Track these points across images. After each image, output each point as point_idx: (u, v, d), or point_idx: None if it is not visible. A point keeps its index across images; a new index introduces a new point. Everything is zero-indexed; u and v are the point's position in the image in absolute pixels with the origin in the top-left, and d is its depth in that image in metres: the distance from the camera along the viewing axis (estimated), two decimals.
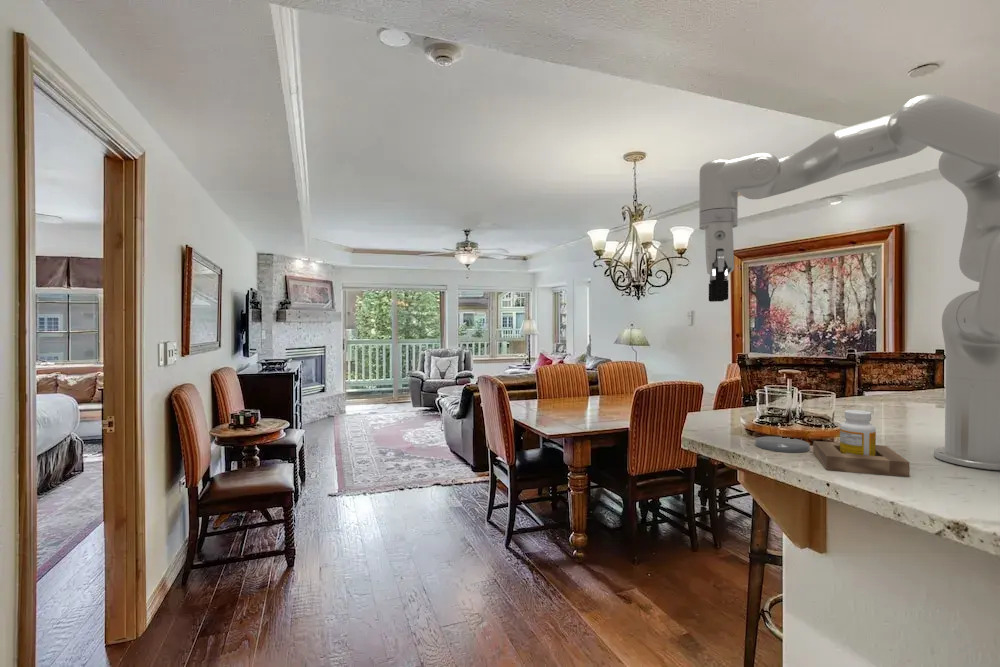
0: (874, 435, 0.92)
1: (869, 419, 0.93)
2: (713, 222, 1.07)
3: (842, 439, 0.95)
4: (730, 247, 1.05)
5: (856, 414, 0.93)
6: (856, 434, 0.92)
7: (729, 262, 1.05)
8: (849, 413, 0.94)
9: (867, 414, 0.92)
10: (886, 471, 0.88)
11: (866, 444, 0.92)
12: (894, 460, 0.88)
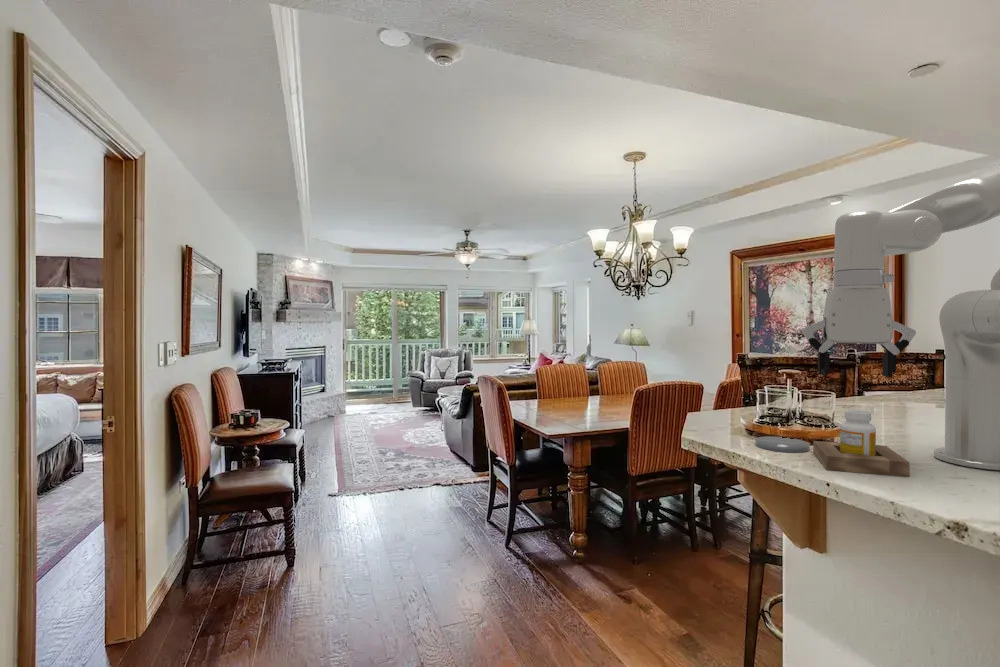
0: (874, 435, 0.92)
1: (869, 419, 0.93)
2: None
3: (841, 439, 0.95)
4: None
5: (856, 414, 0.93)
6: (856, 434, 0.92)
7: None
8: (849, 413, 0.94)
9: (867, 414, 0.92)
10: (886, 471, 0.88)
11: (866, 444, 0.92)
12: (894, 460, 0.88)
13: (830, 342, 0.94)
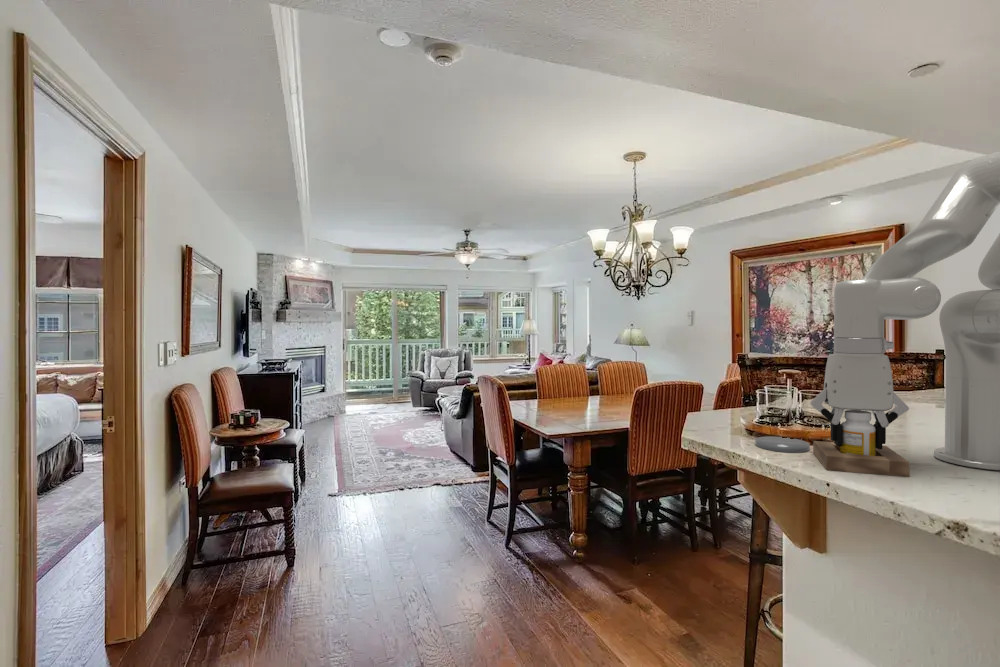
0: (874, 435, 0.92)
1: (869, 419, 0.93)
2: None
3: None
4: None
5: (856, 414, 0.93)
6: (856, 434, 0.92)
7: None
8: (849, 413, 0.94)
9: (867, 414, 0.92)
10: (886, 471, 0.88)
11: (866, 444, 0.92)
12: (894, 460, 0.88)
13: (839, 412, 0.94)
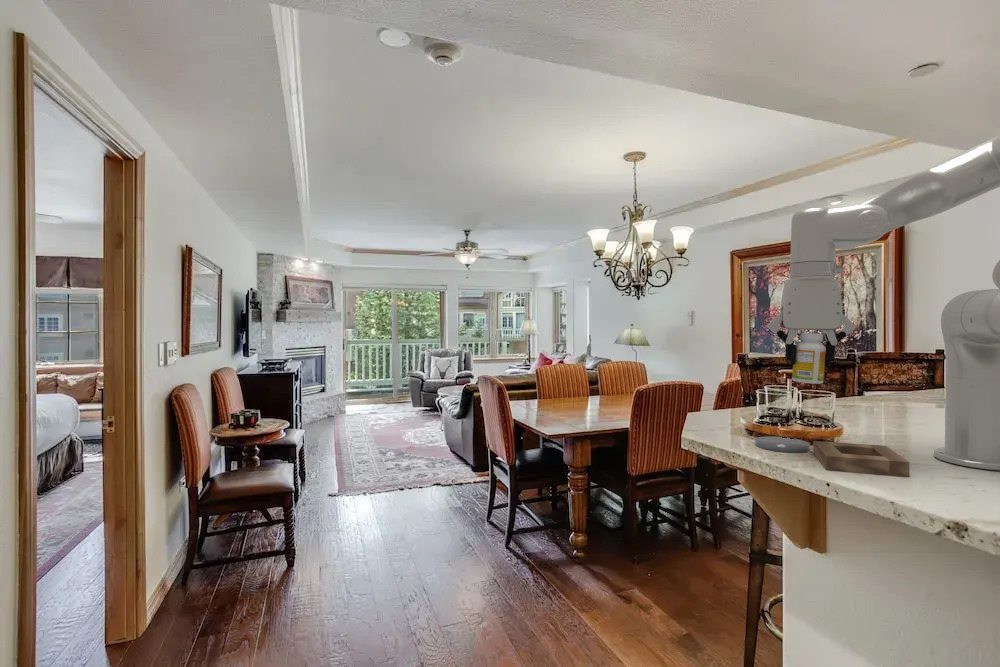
0: (824, 354, 1.00)
1: (821, 339, 1.00)
2: None
3: (795, 358, 1.02)
4: None
5: (810, 334, 1.00)
6: (808, 352, 1.00)
7: None
8: (803, 333, 1.01)
9: (819, 334, 1.00)
10: (886, 471, 0.88)
11: (816, 361, 0.99)
12: (894, 460, 0.88)
13: (793, 332, 1.01)
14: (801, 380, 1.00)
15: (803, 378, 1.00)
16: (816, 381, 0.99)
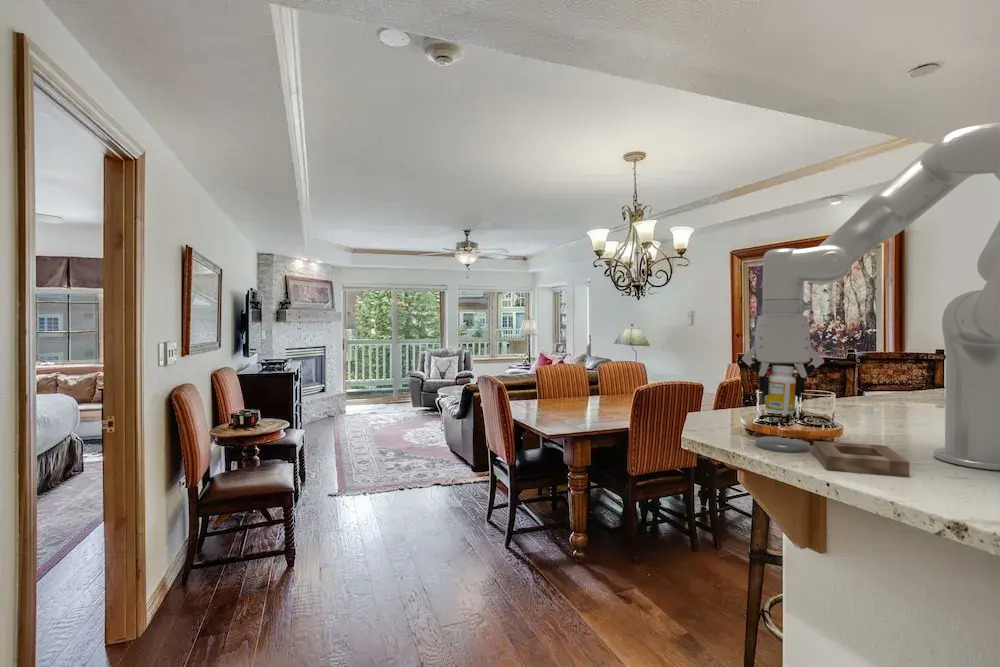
0: (794, 386, 1.05)
1: (791, 372, 1.06)
2: None
3: None
4: None
5: (780, 367, 1.06)
6: (779, 384, 1.05)
7: None
8: (775, 366, 1.07)
9: (790, 367, 1.05)
10: (886, 471, 0.88)
11: (786, 393, 1.05)
12: (894, 460, 0.88)
13: (765, 365, 1.07)
14: (773, 410, 1.06)
15: (774, 409, 1.06)
16: (786, 412, 1.05)
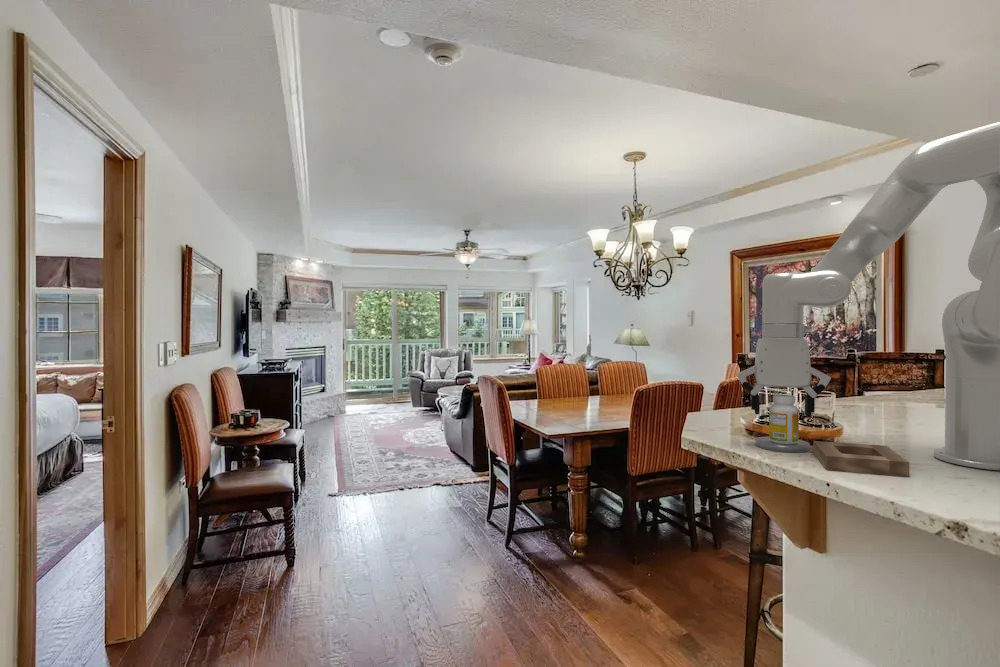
0: (797, 416, 1.05)
1: (792, 402, 1.06)
2: None
3: (770, 419, 1.08)
4: None
5: (781, 397, 1.06)
6: (781, 415, 1.05)
7: None
8: (776, 397, 1.07)
9: (790, 397, 1.06)
10: (886, 471, 0.88)
11: (789, 423, 1.05)
12: (894, 460, 0.88)
13: (760, 386, 1.08)
14: (777, 441, 1.06)
15: (778, 440, 1.06)
16: (791, 442, 1.05)
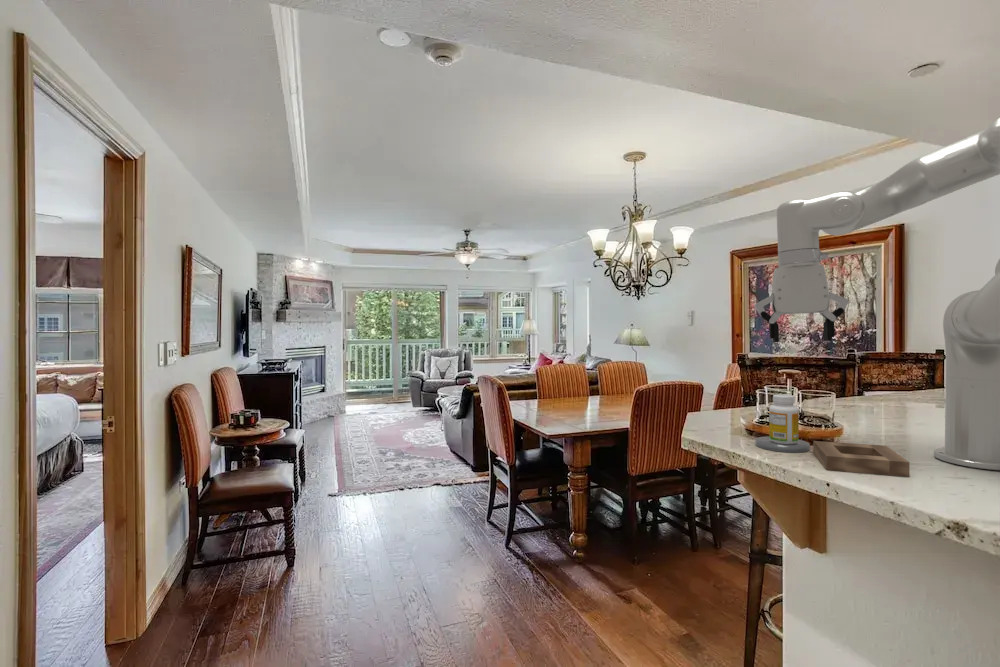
0: (796, 416, 1.05)
1: (792, 402, 1.06)
2: None
3: (770, 419, 1.08)
4: None
5: (781, 397, 1.06)
6: (781, 415, 1.06)
7: None
8: (776, 397, 1.07)
9: (790, 397, 1.06)
10: (886, 471, 0.88)
11: (789, 423, 1.05)
12: (894, 460, 0.88)
13: (778, 314, 1.09)
14: (777, 441, 1.06)
15: (778, 440, 1.06)
16: (791, 442, 1.05)
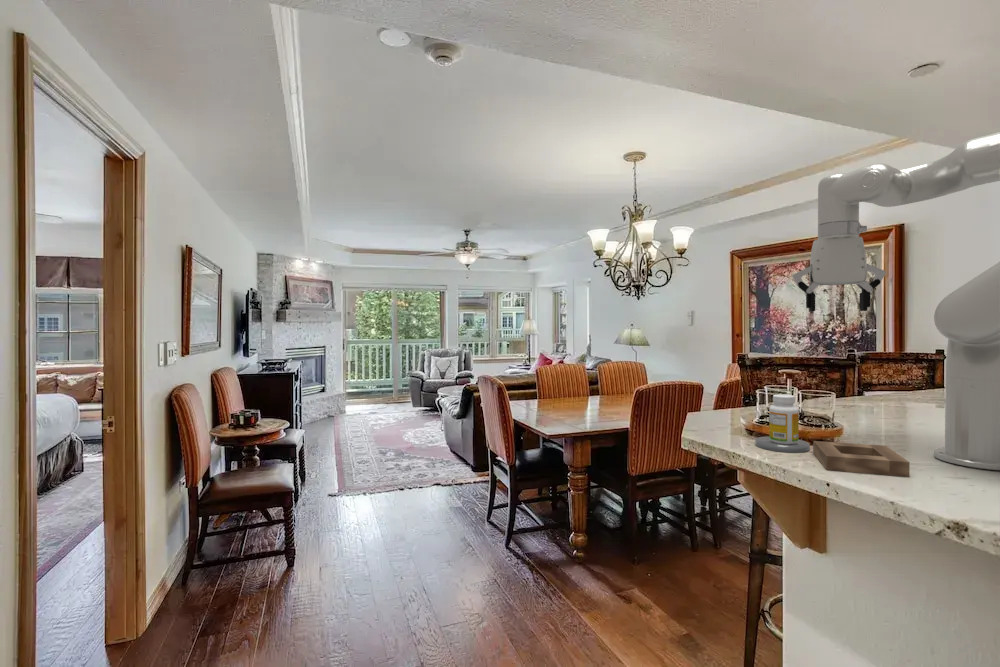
0: (796, 416, 1.05)
1: (792, 402, 1.06)
2: (858, 235, 1.10)
3: (770, 419, 1.08)
4: None
5: (781, 397, 1.06)
6: (781, 415, 1.05)
7: None
8: (776, 397, 1.07)
9: (790, 397, 1.06)
10: (886, 471, 0.88)
11: (789, 423, 1.05)
12: (894, 460, 0.88)
13: (815, 284, 1.13)
14: (777, 441, 1.06)
15: (778, 440, 1.06)
16: (790, 442, 1.05)
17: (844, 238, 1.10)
